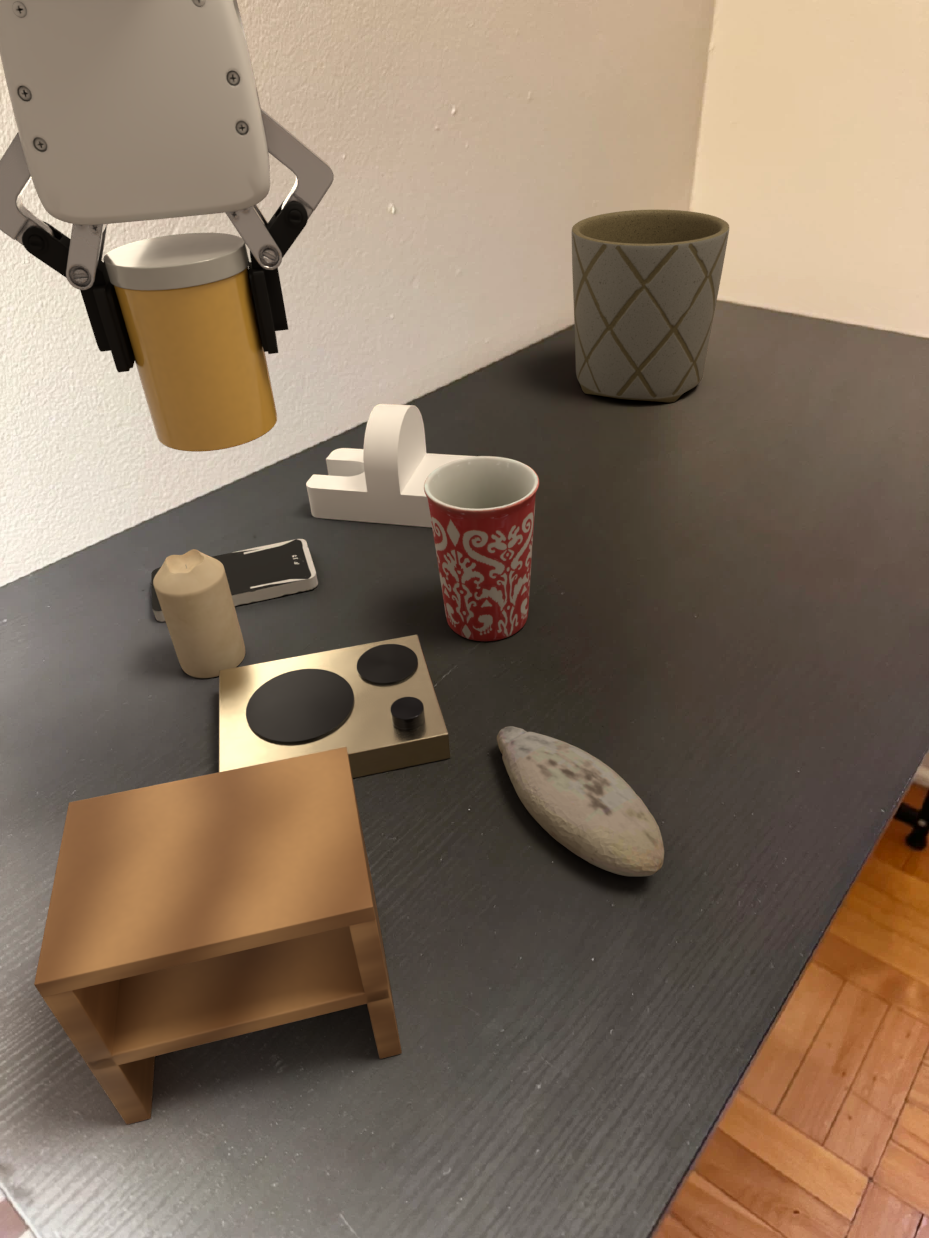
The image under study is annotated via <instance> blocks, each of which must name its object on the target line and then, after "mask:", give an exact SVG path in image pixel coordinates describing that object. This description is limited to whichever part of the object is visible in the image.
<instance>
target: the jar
mask: <svg viewBox="0 0 929 1238" xmlns="http://www.w3.org/2000/svg"><path fill="white" fill-rule="evenodd" d="M102 262H104V264H105V268H106V271H107V275H108V278H109V281H110V283H111V284H112V285H113V287H114V291H115V294H116V298H117V301H118V305H119V308H120V312H121V315H122V318H123V322H124V325H125V329H126V332H127V336H128V339H129V343H130V346H131V349H132V353H133V356H134V360H135V362H134V364H135V367H136V370H137V374H138V376H139V380H140V385H141V387H142V391H143V394H144V398H145V400H146V401H145V402H146V404H147V408H148V411H149V414H150V415H149V416H150V418H151V422H152V425H153V429H154V432H155V435H156V438H157V440H158V441H159V442H160V443H161V444H162V445H163V446H165V447H167V448H169V449H172V450H177V451H181V452H199V453H200V452H201V453H202V452H214V451H220V450H227V449H231V448H236V447H238V446H242V445H245V444H248V443H250V442H253V441H255V440H257V439H260V438H261V437H263V436H265V435H266V434H268V433H269V432H270V431H271V430H273V428H274V427H275V426H276V425H277V422H278V412H277V407H276V403H275V397H274V393H273V386H272V382H271V376H270V371H269V366H268V362H267V355H266V352H264V350H263V345H262V340H261V335H260V329H259V324H258V319H257V314H256V309H255V304H254V299H253V293H252V288H251V283H250V278H249V267H248V266H249V262H250V257H249V253H248V247H247V245H246V243H245V242H244V240H243V239H242V237H241V236H240V235H239V236H238V235H235V234H231V233H225V232H224V233H223V232H190V233H189V232H188V233H177V234H168V235H162V236H156V237H150V238H145V239H141V240H138V241H133V242H129V243H126V244H123V245H121V246H118V247H116V248H113V249H112V250H110V251H108V252H106V254H105V255H103V259H102Z"/></svg>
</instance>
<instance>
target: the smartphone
mask: <svg viewBox="0 0 929 1238" xmlns="http://www.w3.org/2000/svg"><path fill="white" fill-rule="evenodd" d="M211 557H212V558H215V559H217V560H218V561H220V562H221V563H222V564H223V566H224V569H225V573H226V577H227V580H228V584H229V588H230V592H231V595H232V599H233V603H234V607H239V606H243V605H247V604H252V603H257V602H260V601H261V602H262V601H266V600H269V599H274V598H280V597H284V596H288V595H289V596H290V595H292V594H297V593H303V592H307V591H312V590H314V589H316V588H317V587H318V585H319V580H318V576H317V571H316V567H315V564H314V562H313V561H314V560H313V558H312V554H311V551H310V548H309V546H308V543H307V540H306V539H303V538H295V539H290V540H286V541H281V542H276V543H271V544H266V545H261V546H257V547H256V546H255V547H252V548H251V547H250V548H247V549H241V550H238V551H233V552H228V553H227V552H226V553H223V554H217V555H213V556H211ZM160 568H161V566H159V567H157V568H155V569H153V570H152V571H151V574H150V576H151V580H150V581H151V582H150V583H151V609H152V612H153V615H154V618H155V619H156V621H157V622H160V623H166V621H165V618H164V615H163V612H162V609H161V606H160V603H159V600H158V597H157V594H156V591H155V588H154V585H153V580H154V577H155V575H156V574H157V572H158V571H159V569H160Z"/></svg>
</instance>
